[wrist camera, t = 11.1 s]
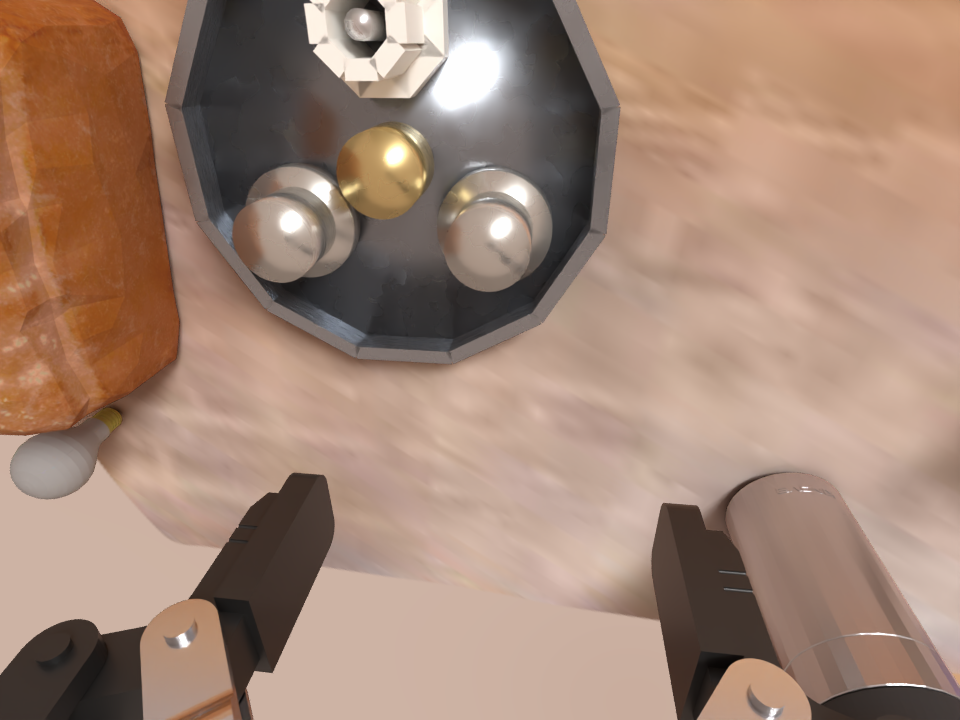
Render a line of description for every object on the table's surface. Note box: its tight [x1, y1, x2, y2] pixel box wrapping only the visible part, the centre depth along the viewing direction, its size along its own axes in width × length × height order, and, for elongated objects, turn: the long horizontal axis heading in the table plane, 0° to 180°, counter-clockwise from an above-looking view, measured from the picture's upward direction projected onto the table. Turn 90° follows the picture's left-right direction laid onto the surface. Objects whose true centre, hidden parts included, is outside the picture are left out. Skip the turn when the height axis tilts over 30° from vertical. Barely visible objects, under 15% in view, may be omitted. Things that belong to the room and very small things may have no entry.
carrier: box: [165, 0, 620, 364], centre depth 34 cm, size 27×27×7 cm
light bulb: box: [10, 408, 122, 499], centre depth 47 cm, size 6×6×10 cm
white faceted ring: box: [304, 0, 449, 98], centre depth 29 cm, size 7×7×6 cm
